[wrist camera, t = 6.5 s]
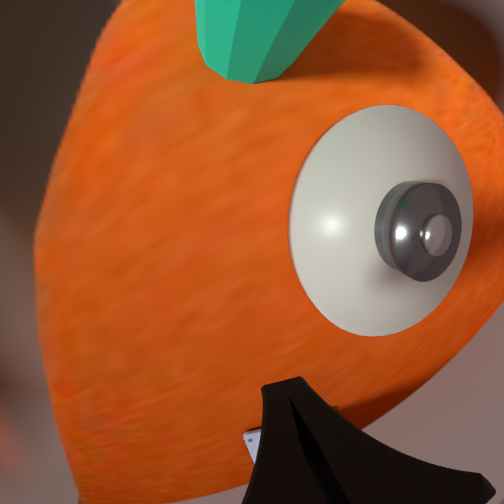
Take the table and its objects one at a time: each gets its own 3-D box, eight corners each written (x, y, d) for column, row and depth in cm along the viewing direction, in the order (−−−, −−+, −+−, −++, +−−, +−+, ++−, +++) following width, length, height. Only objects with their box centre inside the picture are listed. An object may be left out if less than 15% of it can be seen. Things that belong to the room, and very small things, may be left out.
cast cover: (438, 259, 17) (465, 271, 14) (376, 279, 17) (402, 297, 14) (436, 178, 16) (466, 180, 13) (369, 186, 15) (399, 189, 12)
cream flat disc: (459, 293, 20) (467, 298, 19) (303, 354, 19) (308, 364, 18) (452, 113, 16) (462, 112, 15) (264, 114, 14) (269, 109, 13)
